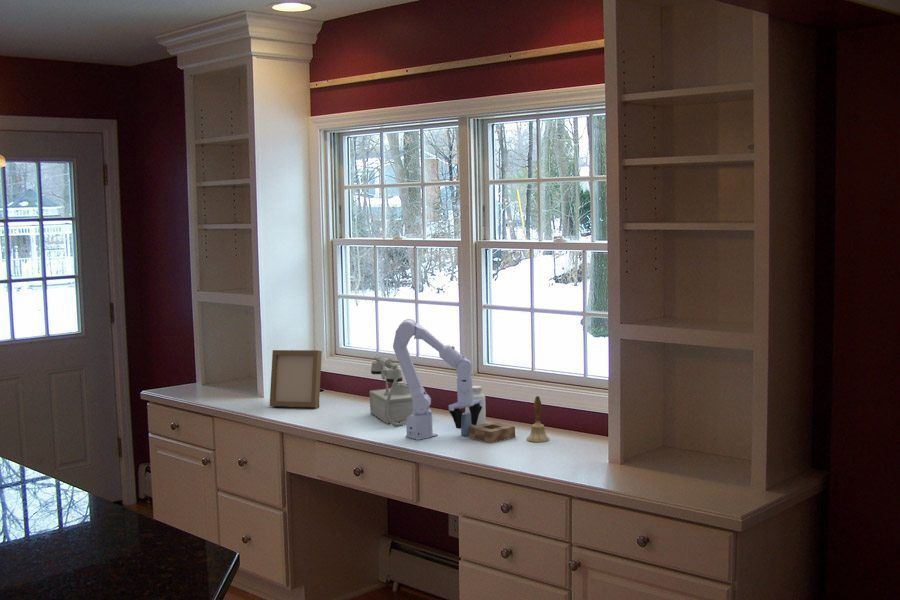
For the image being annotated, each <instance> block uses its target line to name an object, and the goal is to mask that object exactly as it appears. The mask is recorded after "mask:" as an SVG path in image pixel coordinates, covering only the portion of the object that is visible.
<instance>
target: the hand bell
mask: <svg viewBox="0 0 900 600" xmlns="http://www.w3.org/2000/svg"><path fill="white" fill-rule="evenodd" d="M533 409H534V412H535V423H533V424H532V425H531V430H530V434H529V435H528V436H527V438H526V441H527V440H528V442H530V441H531V443H545V442H544V441H546V442H549V441H550V440H549V439H550V437H549V436H548V435H547V433H546V429H545V425H544V424H542V423H541V410H542V401H541V399H540V396H538V395H536V396H535V399H534V402H533ZM548 440H549V441H548Z"/></svg>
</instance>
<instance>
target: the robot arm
mask: <svg viewBox="0 0 900 600" xmlns="http://www.w3.org/2000/svg"><path fill="white" fill-rule="evenodd" d="M413 336H414V337H413ZM412 337H413V339H414V340H422V341H424V342H425V343H426V344H428V346H431V348H432V349H434V350H436V351H437V352H438V355H439V358H440V359H442V361H444V362H445V363H447V364H448V365H449V366H450V367H451V368H454V369H455V372H456V374H457V376H456V377H457V378H456V392H457V402H454V403H452V404H448V411H449V414H450V415H451V417H452V420H453V422H454V425H455V429H457V430H461V417H462V413H464V412H463V410H460V409H465V408H466V407H469V410H470V413H471V423H472V425H477V420H478V416H479V413H480V411H481V409H482V406H480V405H482V400H481V399H476V400H473V389H472V386H473V377H472V370H473V369H472V367H473V366H472V365H473V364H472V362H471V360H470V359H469V358H468V357H466V356H465V354H461V353H460V352H459V351H457V350H456V347H455V346H454V345H452V346H451V345H449V344H444V343H442V341H440V340H439V339H437V338H436V337H435V336H434V335H433V334H432V333H431V332H430V331H428V329H426V328H425V327H423V326H422V325H421V324H420V323H417V322H416V321H415V320H414V319H412V318H408V319H404V320H403V321H402V322H401V323H400V324H399V325H398V327H397V329H396V330H395V334H394V339H393V343H392V348H393V352H394V354H395V356H396V359H397V361H398V364H399V366H400V370H401V373H402V375H403V376H404V379H405V381H406V384H407V385H408V387H409V389H410V393H411V398H412V401H413V404H412V407H413V413H412V414H411V415H409V416H408V417H407V419H406V425H405V426H406V435H405V438H409V439H413V440H424V439H428V438H431V437H437V436H438V433H434V432H433V413H432V412H433V411H432V409H430V406H431V404H432V398H431V395H429V394H428V393H427V392H426V390H425V389H426V388H424V386H423V385H422V383H421V379H420V377H419V375H418V372H417V370H416V367H415V365H414V363H413V360H412V357H411V355H410V351H409V349H408V344H409V343H410V340H411V339H412Z"/></svg>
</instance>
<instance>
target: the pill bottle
mask: <svg viewBox="0 0 900 600" xmlns="http://www.w3.org/2000/svg"><path fill="white" fill-rule="evenodd" d="M482 388H483V387H482V386H481V385H472V389H473V400H476V399H481V400H482V405H480V406H482V409H481V411H480V413H479V416H478V420H477V425H480V424H485V423H487V421H486V420H487V418H486V417H487V416H486V415H487V413H486V409H487V408H486V395H485V394H484V393H483V389H482ZM464 409H465V411H464V413H470V410H469V407H466V408H464ZM471 426H476V425H472V423H471Z"/></svg>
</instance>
